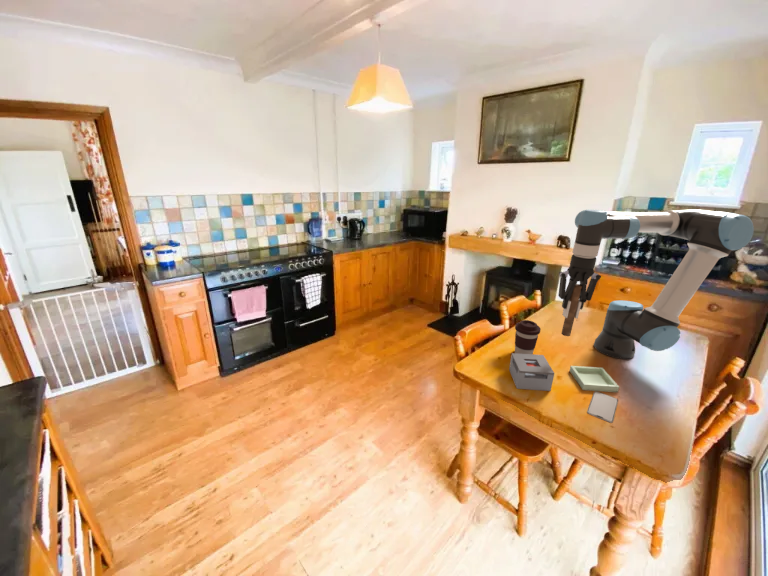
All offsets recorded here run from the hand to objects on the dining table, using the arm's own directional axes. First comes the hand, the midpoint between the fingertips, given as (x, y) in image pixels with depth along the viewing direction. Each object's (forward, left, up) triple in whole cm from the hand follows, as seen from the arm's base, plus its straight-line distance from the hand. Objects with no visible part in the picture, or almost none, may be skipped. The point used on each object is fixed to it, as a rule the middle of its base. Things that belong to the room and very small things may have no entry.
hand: (569, 316), depth 120 cm
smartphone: (-8, +18, -26) cm, 33 cm away
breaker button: (+13, +6, -23) cm, 27 cm away
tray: (-11, +4, -25) cm, 28 cm away
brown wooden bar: (0, 0, -8) cm, 8 cm away
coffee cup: (+10, -13, -25) cm, 30 cm away
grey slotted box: (+13, +6, -25) cm, 29 cm away
